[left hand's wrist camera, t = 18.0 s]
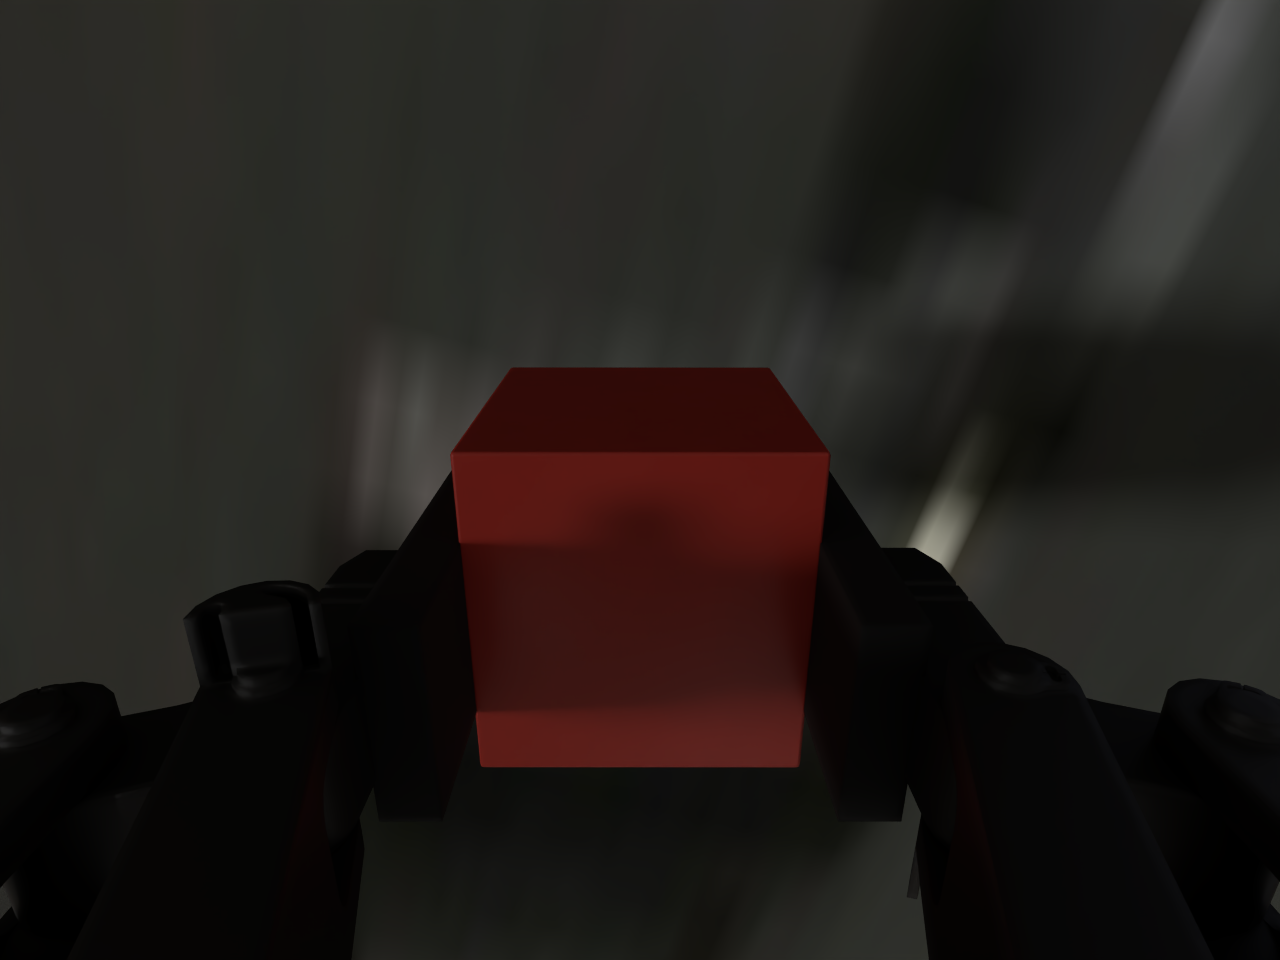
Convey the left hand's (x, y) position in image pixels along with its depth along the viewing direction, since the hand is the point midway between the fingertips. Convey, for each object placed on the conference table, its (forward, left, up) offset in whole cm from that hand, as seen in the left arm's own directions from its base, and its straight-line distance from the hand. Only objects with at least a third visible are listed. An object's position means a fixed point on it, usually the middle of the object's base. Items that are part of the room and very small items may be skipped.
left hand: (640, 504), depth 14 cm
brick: (0, 0, 0) cm, 0 cm away
